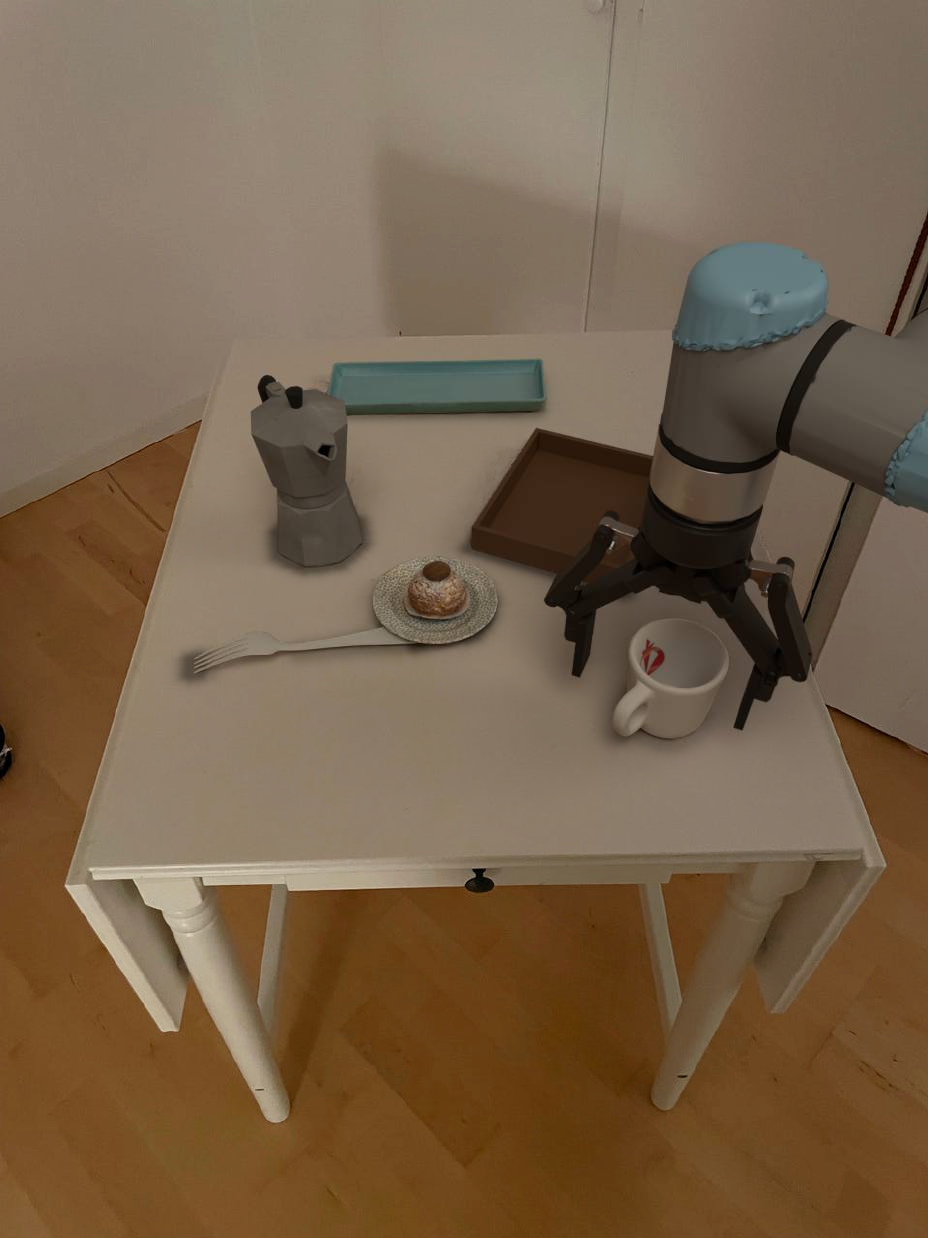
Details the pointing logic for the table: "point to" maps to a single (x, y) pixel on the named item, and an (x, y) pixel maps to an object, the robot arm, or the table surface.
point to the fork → (294, 644)
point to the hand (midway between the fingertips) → (659, 690)
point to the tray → (562, 502)
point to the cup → (670, 678)
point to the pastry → (435, 600)
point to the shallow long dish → (439, 386)
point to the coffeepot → (307, 472)
